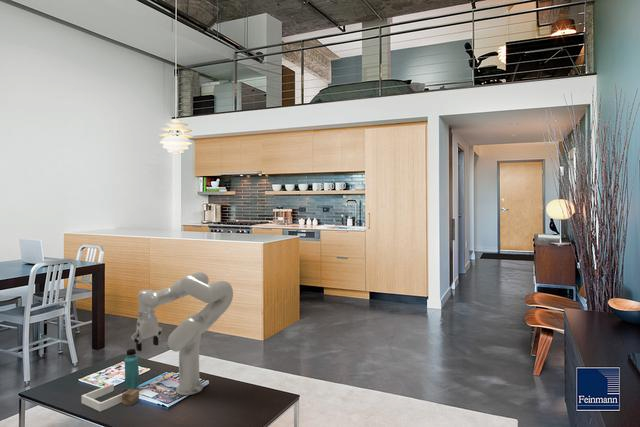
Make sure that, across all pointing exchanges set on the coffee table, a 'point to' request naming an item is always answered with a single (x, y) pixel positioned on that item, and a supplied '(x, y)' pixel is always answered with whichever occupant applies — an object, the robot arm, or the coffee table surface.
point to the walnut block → (130, 397)
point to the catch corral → (89, 397)
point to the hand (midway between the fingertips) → (147, 347)
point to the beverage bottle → (131, 370)
